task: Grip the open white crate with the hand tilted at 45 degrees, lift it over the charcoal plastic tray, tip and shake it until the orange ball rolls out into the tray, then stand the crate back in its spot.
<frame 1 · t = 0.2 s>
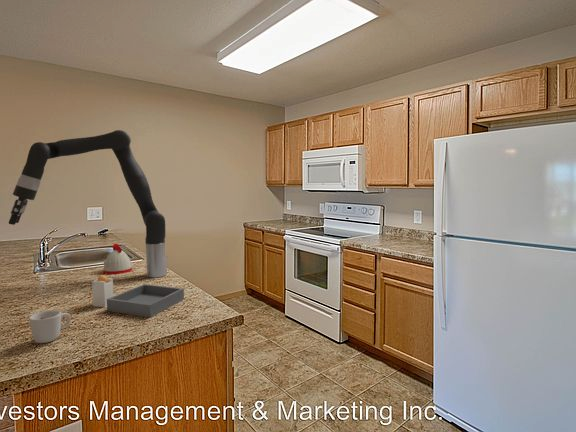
hand: (13, 223, 143), 31 cm above the countertop, tool tilted 20°, fingers open, 8 cm apart
cream and red dome: (118, 271, 185), on the countertop
open white crate: (103, 304, 135), on the countertop, touching ball
tray: (147, 304, 135), on the countertop
cup: (52, 338, 106), on the countertop
ball: (102, 279, 134), point 10 cm above the countertop, touching open white crate
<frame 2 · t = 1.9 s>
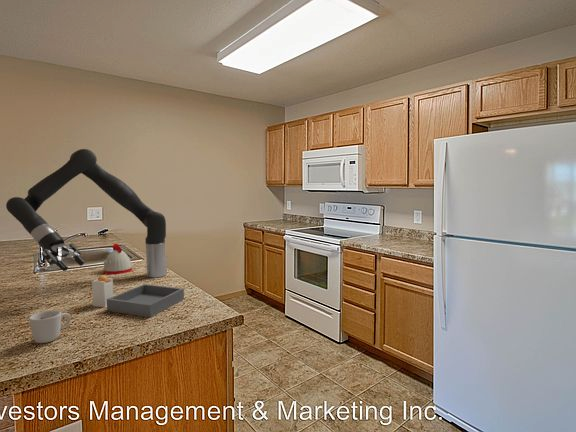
hand: (74, 266, 135), 15 cm above the countertop, tool tilted 45°, fingers open, 8 cm apart
ball: (102, 279, 134), point 10 cm above the countertop, tilted 7°, touching open white crate
everything else where it was.
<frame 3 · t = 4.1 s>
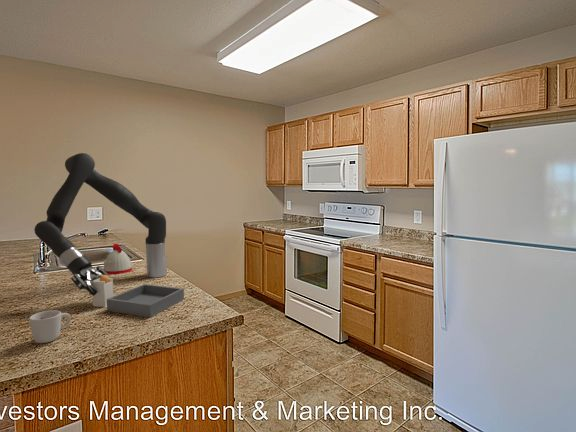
hand: (103, 290, 135), 6 cm above the countertop, tool tilted 45°, fingers open, 8 cm apart
ball: (104, 279, 134), point 10 cm above the countertop, tilted 28°, touching open white crate
everything else where it was.
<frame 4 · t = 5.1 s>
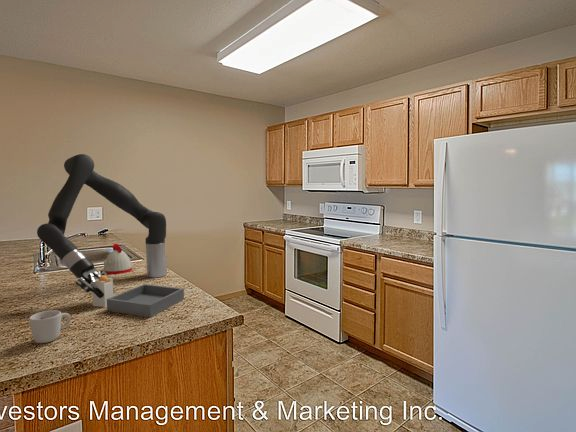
hand: (107, 294, 135), 4 cm above the countertop, tool tilted 45°, fingers closed on open white crate, 5 cm apart
open white crate: (103, 304, 135), on the countertop, touching ball, gripper
ball: (103, 279, 134), point 10 cm above the countertop, tilted 19°, touching open white crate
everything else where it was.
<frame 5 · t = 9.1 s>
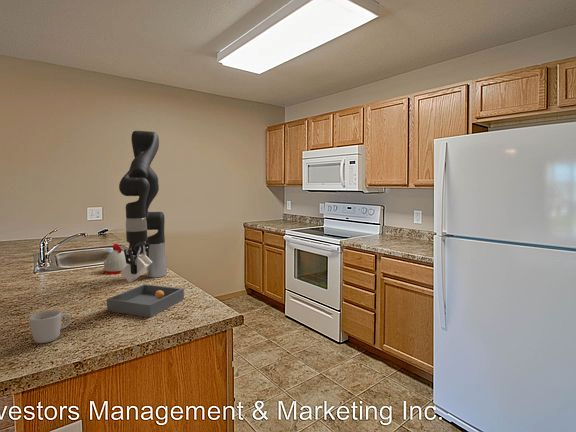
hand: (138, 271, 134), 13 cm above the countertop, tool pointing down, fingers closed on open white crate, 5 cm apart
open white crate: (128, 275, 134), point 11 cm above the countertop, tilted 45°, touching gripper
ball: (159, 294, 133), point 5 cm above the countertop, tilted 61°
everything else where it was.
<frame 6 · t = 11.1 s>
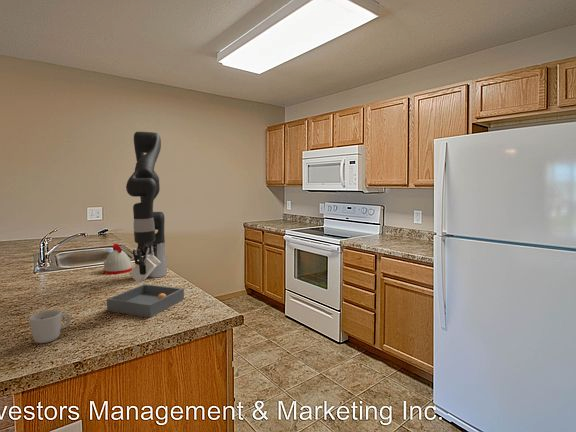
hand: (147, 272, 134), 13 cm above the countertop, tool pointing down, fingers closed on open white crate, 5 cm apart
open white crate: (137, 276, 134), point 11 cm above the countertop, tilted 44°, touching gripper
ball: (162, 297, 135), point 3 cm above the countertop, tilted 81°, touching tray
everything else where it was.
when the fingers open (6 cm above the countertop, at t = 15.0 s): open white crate drops 1 cm, on the countertop.
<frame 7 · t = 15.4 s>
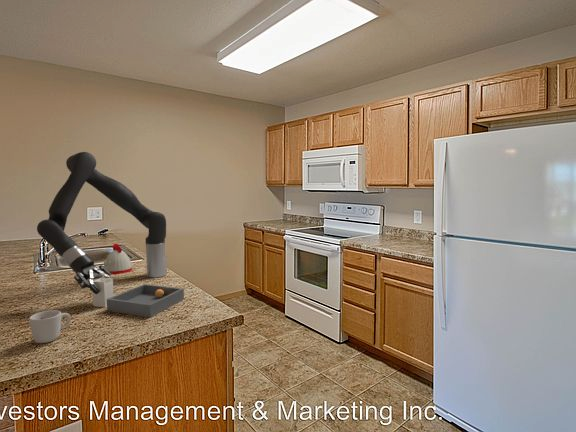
hand: (105, 289, 134), 6 cm above the countertop, tool tilted 45°, fingers open, 8 cm apart
open white crate: (103, 304, 135), on the countertop
ball: (159, 293, 140), point 3 cm above the countertop, tilted 81°, touching tray
everything else where it was.
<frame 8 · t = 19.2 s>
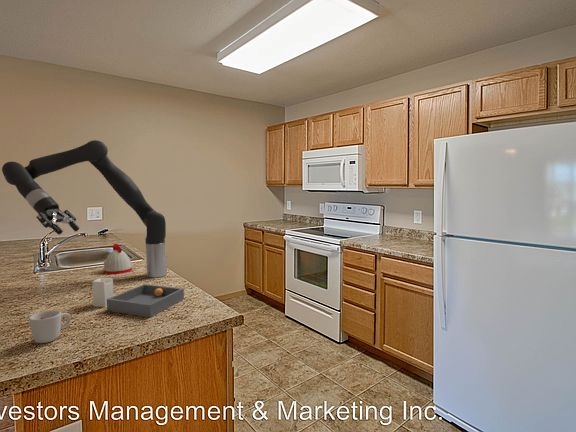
hand: (69, 231, 136), 29 cm above the countertop, tool tilted 45°, fingers open, 8 cm apart
ball: (158, 292, 141), point 3 cm above the countertop, tilted 27°, touching tray
everything else where it was.
at the end: ball inside the target area on the tray (7.3 cm from its centre), point 2.7 cm above the tray's base; open white crate tilted 0° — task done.
